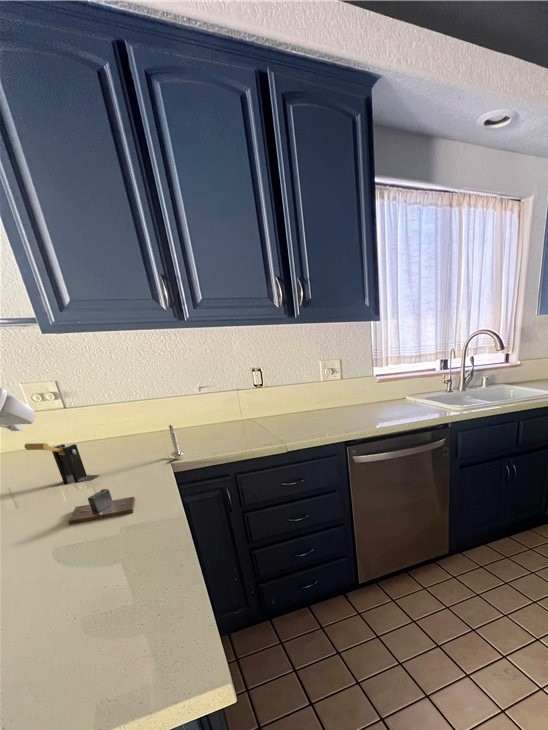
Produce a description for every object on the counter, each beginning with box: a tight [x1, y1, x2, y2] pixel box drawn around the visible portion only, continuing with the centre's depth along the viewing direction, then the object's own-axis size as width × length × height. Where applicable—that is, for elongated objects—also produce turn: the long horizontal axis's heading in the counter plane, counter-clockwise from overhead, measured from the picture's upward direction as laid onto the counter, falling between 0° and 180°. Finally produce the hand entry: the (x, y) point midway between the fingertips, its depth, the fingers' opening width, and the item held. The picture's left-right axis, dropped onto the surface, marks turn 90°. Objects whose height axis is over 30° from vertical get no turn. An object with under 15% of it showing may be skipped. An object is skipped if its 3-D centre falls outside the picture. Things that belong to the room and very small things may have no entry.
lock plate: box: [68, 496, 136, 526], centre depth 112 cm, size 14×10×3 cm
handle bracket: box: [50, 443, 101, 488], centre depth 137 cm, size 11×9×13 cm
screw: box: [168, 424, 185, 461], centre depth 159 cm, size 13×5×5 cm
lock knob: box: [87, 488, 113, 512], centre depth 111 cm, size 6×2×4 cm, turn 175°
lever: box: [24, 442, 65, 456], centre depth 130 cm, size 12×6×2 cm, turn 175°
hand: (18, 428), depth 119 cm, fingers closed
